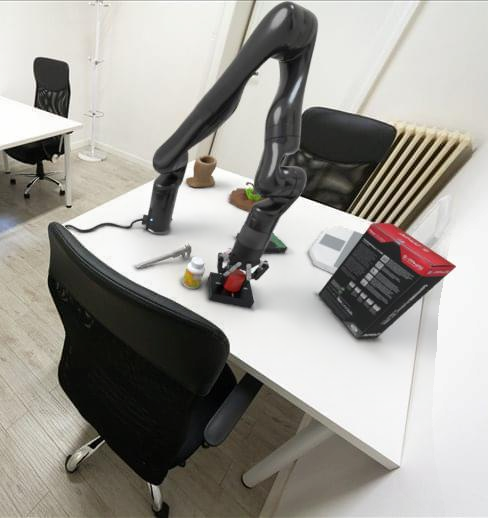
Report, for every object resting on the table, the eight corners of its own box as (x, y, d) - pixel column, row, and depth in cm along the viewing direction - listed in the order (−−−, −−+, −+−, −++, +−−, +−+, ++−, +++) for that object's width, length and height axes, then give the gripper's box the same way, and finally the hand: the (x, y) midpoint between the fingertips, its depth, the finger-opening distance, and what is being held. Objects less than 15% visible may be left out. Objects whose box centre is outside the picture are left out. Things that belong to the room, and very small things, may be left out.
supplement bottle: (180, 277, 95) (187, 254, 89) (196, 277, 95) (203, 254, 89) (185, 289, 91) (192, 266, 85) (201, 289, 91) (210, 265, 85)
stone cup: (193, 191, 144) (201, 162, 135) (182, 181, 153) (189, 152, 143) (220, 189, 147) (229, 160, 138) (208, 179, 156) (216, 151, 147)
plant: (223, 204, 135) (231, 181, 128) (235, 189, 148) (242, 168, 141) (269, 218, 127) (280, 194, 120) (277, 201, 140) (287, 179, 132)
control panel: (209, 300, 88) (212, 293, 86) (207, 278, 95) (210, 271, 93) (250, 308, 86) (254, 301, 84) (246, 285, 93) (249, 278, 91)
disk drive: (247, 254, 106) (285, 253, 108) (250, 248, 104) (288, 247, 106) (234, 238, 114) (270, 237, 115) (237, 232, 112) (273, 231, 114)
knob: (223, 289, 87) (229, 277, 84) (222, 278, 91) (227, 266, 87) (240, 293, 86) (247, 280, 83) (238, 282, 90) (245, 269, 87)
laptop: (327, 226, 123) (366, 166, 106) (398, 253, 110) (455, 189, 94) (302, 260, 105) (344, 193, 88) (383, 296, 92) (451, 227, 75)
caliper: (187, 256, 104) (191, 242, 100) (189, 258, 103) (193, 244, 99) (135, 267, 98) (138, 252, 94) (137, 269, 97) (139, 254, 93)
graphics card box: (379, 340, 79) (463, 264, 61) (355, 341, 78) (433, 265, 61) (335, 294, 92) (394, 221, 74) (314, 294, 91) (369, 221, 74)
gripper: (278, 236, 79) (254, 281, 90) (223, 227, 81) (207, 272, 92) (284, 253, 73) (258, 298, 84) (226, 243, 76) (208, 288, 87)
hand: (231, 284), depth 88 cm, fingers closed on knob, 5 cm apart
